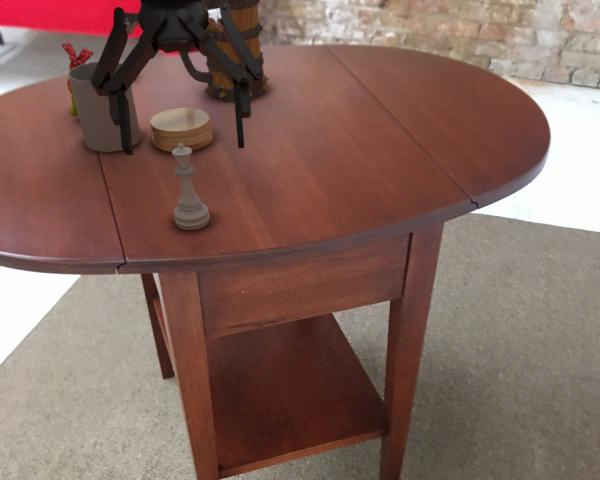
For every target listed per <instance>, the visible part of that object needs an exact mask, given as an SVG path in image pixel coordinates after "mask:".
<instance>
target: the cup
mask: <svg viewBox="0 0 600 480" xmlns="http://www.w3.org/2000/svg"><path fill="white" fill-rule="evenodd" d="M98 62H99V61H93V62H92V61H91V62H87V63H85V64H83V65H79V66H77V67H75V68H73V69H71V70H70V71H69V70H68V73H67V77H68V78H69V81H70V85H71V89H72V92H73V96H74V100H75V104H76V108H77V112H78V115H79V116H78V119H79V123H80V126H81V130H82V134H83V139H84V142H85V144H86V146H87V148H89V149H90V150H93V151H95V152H101V153H102V152H103V153H110V152H111V153H112V152H119V151H124V150H123V148H122V145H121V133H120V125H118V126H115V125H114V123H113V121H112V119H111V117H110V108H109V97H107V96H99V95H98V94H97V93H96V91H95V89H94V87H93V86H92V84H91V79H92V77H93V74H94V72H95V69H96V67H97V64H98ZM121 65H122V63H121V62H119V63H118V66H117V68H116V70H115V73H116V71H117V70H118V69H119V67H120V66H121ZM115 73H114V74H115ZM125 95H126V97H127V100H128V102H129V114H130V126H131V138H132V148H133V147H134V146H136V145H137V144H139V143H140V141H141V140H142V133H141V129H140V125H139V124H140V123H139V120H138V114H137V108H136V104H135V98H134V94H133V88H132V85H131V86H130V87H129V89H128V90H127V91H126V93H125Z"/></svg>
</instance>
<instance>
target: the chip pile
mask: <svg viewBox="0 0 600 480" xmlns="http://www.w3.org/2000/svg"><path fill="white" fill-rule="evenodd" d="M149 124H150V125H149V126H150V129H151V133H152V134H151V139H152V144H153V146H154V147H155V148H157V149H159V150H160V151H165V152H168V153H172V150H173V149H175V148H178V144H179V143H182V144H183V145H184V147H189V148H191V150H192V152H193V151H197V150H200V149H203V148H205V147H207V146H208V145H209V144H211V143H212V141H213V137H214V135H213V128H212V123H211V117H210V114H208V112H207V111H204V110H202V109H198V108H194V107H179V108H178V107H177V108H170V109H166V110H163V111H160V112H158V113H156V114H155V115H153V116H152V117H151V118H150V121H149Z"/></svg>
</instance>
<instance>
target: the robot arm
mask: <svg viewBox="0 0 600 480" xmlns="http://www.w3.org/2000/svg"><path fill="white" fill-rule="evenodd" d="M139 1H140V3H139V4H140V6H139V10H138V12H125V10H124V9H123V7H121V6H117V7H115V8H114V9H113V21H112V22H113V23H112V28H111V30H110V33H109V35H108V37H107V40H106V43H105V45H104V48H103V50H102V52H101V55H100V57H99V59H98V61H97V62H98V64H97V67H96V69H95V72H94V74H93V77H92V79H91V84H92V86H93V87H94V89H95V91H96V93H97V94H98V95H99V96H107V97H109V108H110V117H111V119H112V121H113V123H114V125H115V126H118V125H120V133H121V145H122V148H123V150H122V151H124V153H125V155H126V156H133V155H134V152H133V151H134V150H133V147H132V138H131V126H130V114H129V102H128V100H127V97H126V95H125V93H126V91H127V90H128V89H129V87H130V86H131V87H132V85H133V83H134V82H135V81H136V80H137V78H138V76H139V75H140V74H141V72H142V71H143V70H144V69H145V67H146V66H147V65H148V63H149V62H150V60H153V59H155V57H156V56H157V54H158V53H159V52H160V51H162V52H164V54H172V53H175V52H179V51H181V52H188V53H191V51H192V50H193V49H196V50H197V51H198V52H199V53H200V54H201V55H202V56H203V57H205V58H206V59H207V58H208V59H209V60H210V61H211V62H212V63H213V64H214V65H215V66H216V67H217V69H218V70H219V71H220V72H221V73H222V74H223V75H224V76H225V77H226V78H227V79H228V80H229V81H230V82H231V83H232V84H233V91H234V101H233V102H234V113H235V126H236V127H235V128H236V139H237V147H238V149H245V137H244V135H245V134H244V124H243V123H244V122H243V119H250V118H251V116H252V104H251V100H250V91H251V90H252V89H253V88H255V87H257V88H260V87H262V85H263V70H264V69H263V70H262V69H261V67H260V65H259V64H258V62H257V60H256V59H255V57H254V55H253V54H252V52H251V50H250V49H249V47H248V45H247V44H246V42H245V40H244V39H243V37H242V35H241V34H240V32H239V30H238V29H237V27H236V25H235V24H234V22H233V20H232V15H231V10H230V6H229V4H228V3H227V2H223V3H221V4H220V8H217V9H211V10H207V9H206V7H205V5H204V0H139ZM211 22H212V23H214V24H215V25H216V27H217V28H218V29H219V30H221V31H222V30H223V31H224V34H225V37H226V39H227V41H228V42H229V44H230V46H231V47H232V49H233V51H234V52H235V54H236V56H237V57H238V59H239V61H240V62H241V64H242V66H243V67H244V69H245V71H246V72H247V73H246V74H245V73H244V72H243V71H242V70H241V69H240V68H239V67H238V66H237V65H236V64H235V63H234V62H233V61H232V60H231V59H230V57H229V56H228V55H227V54H226V53H225V52H224V51H223V50H222V49H221V48H220V47H219V46H218V45H217V44H216V43H215V42H214V41H213V40H212V39H211V38H210V36H209V34H208V33H207V32H206V31H205V30H206V29H207V27H208V25H209V23H211ZM136 27H139V28H140V30H142V33H140V36H139V37H138V41H137V43H136V44H135V45H134V47H133V48H132V50H131V51H130V52H129V54H128V55H127V56H126V58H125V60H123V62H122V63H121V64H122V65H121V66H120V67H119V69H118V70H117V71H116V73H115V70H116V68H117V66H118V63H120V60H121V58H122V56H123V54H124V51H125V48H126V46H127V44H128V38H129V36H131V35H132V34H133V32H134V31H135V29H136ZM114 73H115V74H114Z"/></svg>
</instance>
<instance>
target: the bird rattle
mask: <svg viewBox="0 0 600 480" xmlns="http://www.w3.org/2000/svg"><path fill="white" fill-rule="evenodd" d="M61 46H62V48H63V50H64V51H65V52H66V53H67V55H68V59H69V65H68V72H69V71H70V70H71V69H73V68H75V67H77V66H79V65H83V64H86V62H88V61H89V60H90V59H91V57H92V56H93V55H94V52H93V51H91V50H89V49H88V47H83V48H82V50H81V51H80V53H78V55H77V54H76V53H77V52H76V50H75V49H74V48H75V47H73V43H71V42H67V43H62V44H61ZM66 85H67V90H68V92H69V93H70V95H71V97H70V100H71V105H70V114H71V116H72V117H78V118H79V115H78V112H77V108H76V104H75V100H74V96H73V92H72V89H71V85H70V81H69V77H68V78H67V84H66Z"/></svg>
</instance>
